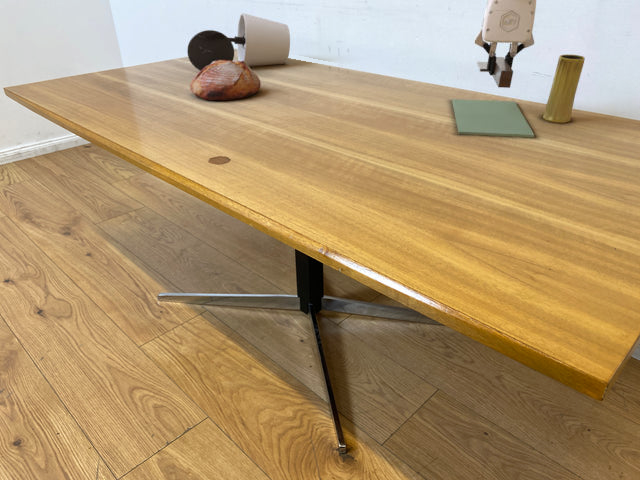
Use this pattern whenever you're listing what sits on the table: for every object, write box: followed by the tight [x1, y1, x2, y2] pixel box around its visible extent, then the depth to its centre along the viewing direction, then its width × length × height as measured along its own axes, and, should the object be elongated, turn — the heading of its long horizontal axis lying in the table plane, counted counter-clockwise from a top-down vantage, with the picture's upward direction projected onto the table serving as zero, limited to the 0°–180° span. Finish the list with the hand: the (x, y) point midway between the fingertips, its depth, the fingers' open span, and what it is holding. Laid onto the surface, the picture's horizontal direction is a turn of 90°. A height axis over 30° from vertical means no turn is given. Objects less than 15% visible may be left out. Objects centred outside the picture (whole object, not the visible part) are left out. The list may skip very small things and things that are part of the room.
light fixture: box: [186, 12, 291, 72], centre depth 163 cm, size 17×19×34 cm
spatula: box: [476, 56, 514, 89], centre depth 110 cm, size 22×7×3 cm, turn 170°
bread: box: [189, 60, 262, 102], centre depth 136 cm, size 16×20×10 cm
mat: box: [451, 98, 536, 138], centre depth 117 cm, size 16×26×1 cm, turn 170°
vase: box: [542, 54, 586, 124], centre depth 112 cm, size 6×6×14 cm
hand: (498, 73), depth 110 cm, fingers closed on spatula, 2 cm apart
